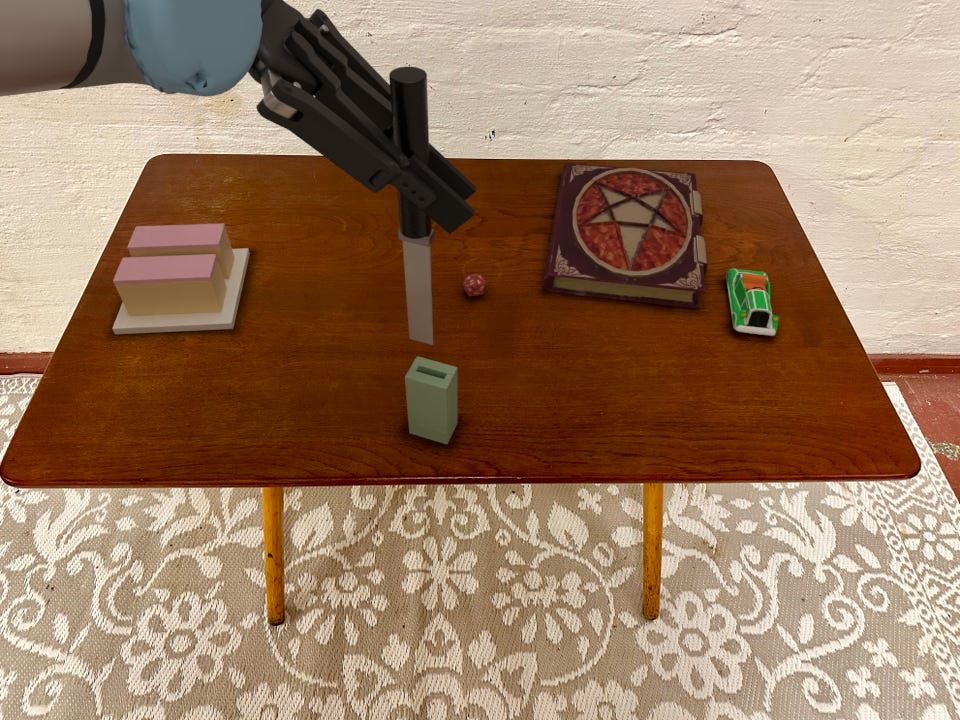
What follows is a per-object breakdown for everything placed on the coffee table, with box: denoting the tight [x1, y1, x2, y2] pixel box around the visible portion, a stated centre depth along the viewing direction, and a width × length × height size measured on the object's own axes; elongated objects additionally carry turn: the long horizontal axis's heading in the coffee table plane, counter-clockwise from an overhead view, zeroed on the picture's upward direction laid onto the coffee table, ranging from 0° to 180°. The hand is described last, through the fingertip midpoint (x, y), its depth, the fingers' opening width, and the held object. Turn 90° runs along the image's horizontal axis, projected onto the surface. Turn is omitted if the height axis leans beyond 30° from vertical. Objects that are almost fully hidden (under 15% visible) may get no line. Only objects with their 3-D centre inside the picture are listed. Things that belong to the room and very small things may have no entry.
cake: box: [111, 222, 251, 335], centre depth 86 cm, size 15×14×7 cm
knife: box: [388, 66, 435, 346], centre depth 57 cm, size 3×3×26 cm
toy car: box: [725, 267, 781, 337], centre depth 87 cm, size 12×5×4 cm, turn 171°
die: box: [462, 273, 487, 297], centre depth 88 cm, size 3×3×3 cm
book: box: [542, 162, 708, 310], centre depth 97 cm, size 28×21×5 cm
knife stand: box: [404, 355, 459, 445], centre depth 71 cm, size 3×4×9 cm
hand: (462, 209), depth 55 cm, fingers closed on knife, 3 cm apart
